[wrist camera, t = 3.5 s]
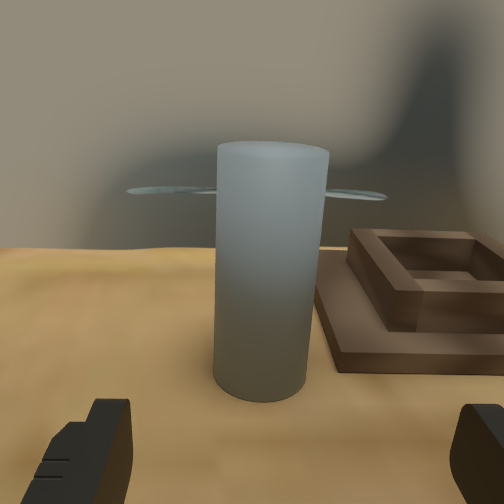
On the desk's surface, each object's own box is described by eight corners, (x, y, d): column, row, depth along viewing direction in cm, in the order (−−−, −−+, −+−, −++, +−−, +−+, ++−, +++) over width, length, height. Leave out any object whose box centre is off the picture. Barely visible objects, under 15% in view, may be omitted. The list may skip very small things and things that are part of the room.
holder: (498, 269, 37) (509, 225, 36) (640, 377, 24) (667, 315, 23) (300, 263, 36) (305, 218, 35) (338, 372, 23) (347, 307, 22)
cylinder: (299, 346, 25) (319, 143, 21) (312, 402, 21) (340, 161, 17) (215, 344, 25) (219, 139, 21) (211, 401, 21) (215, 157, 17)
